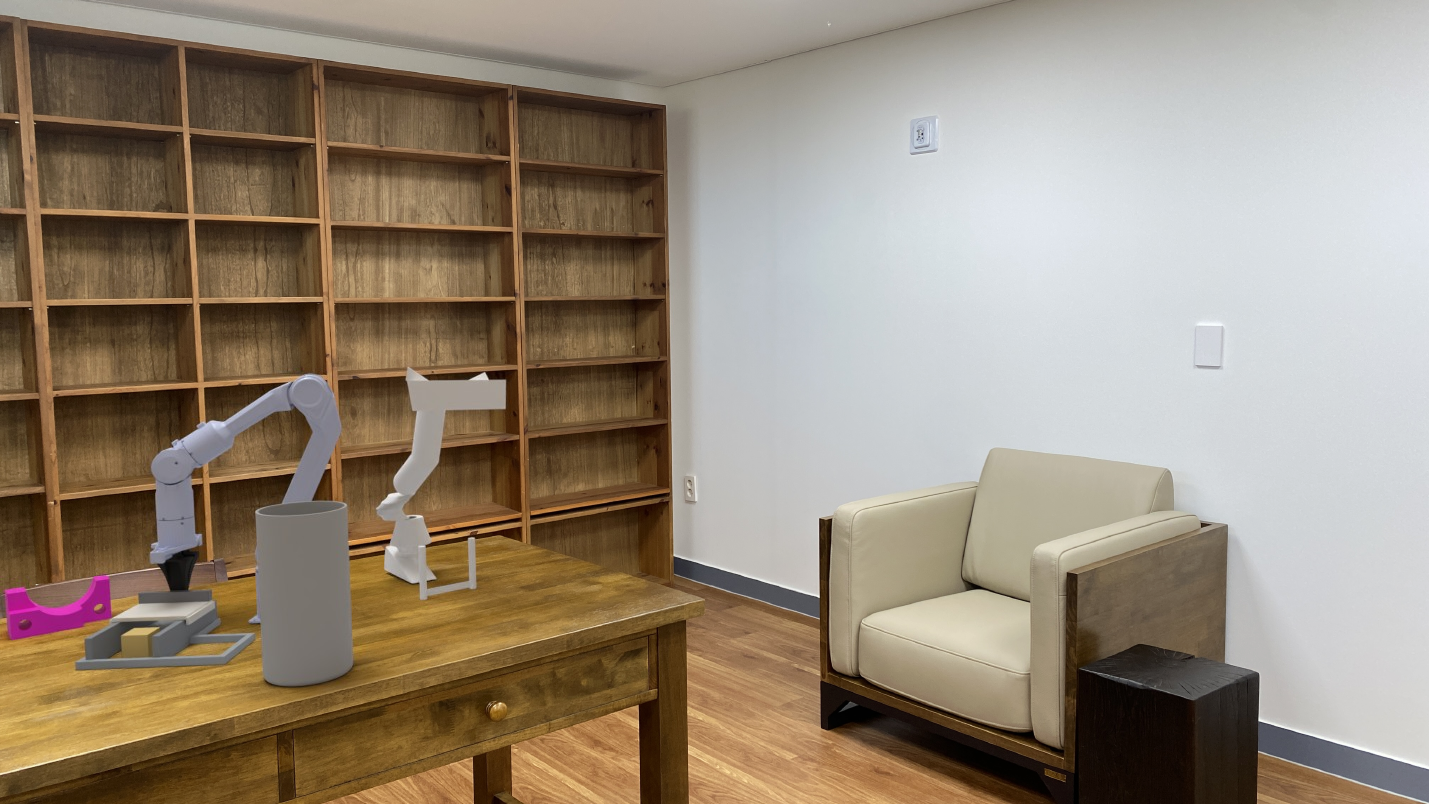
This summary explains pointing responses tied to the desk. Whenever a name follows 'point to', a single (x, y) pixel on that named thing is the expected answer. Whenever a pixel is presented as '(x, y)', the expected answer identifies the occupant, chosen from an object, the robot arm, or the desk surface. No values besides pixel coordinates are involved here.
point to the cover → (169, 606)
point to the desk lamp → (425, 456)
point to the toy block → (56, 611)
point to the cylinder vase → (304, 592)
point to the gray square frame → (161, 644)
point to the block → (138, 642)
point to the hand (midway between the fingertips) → (179, 595)
